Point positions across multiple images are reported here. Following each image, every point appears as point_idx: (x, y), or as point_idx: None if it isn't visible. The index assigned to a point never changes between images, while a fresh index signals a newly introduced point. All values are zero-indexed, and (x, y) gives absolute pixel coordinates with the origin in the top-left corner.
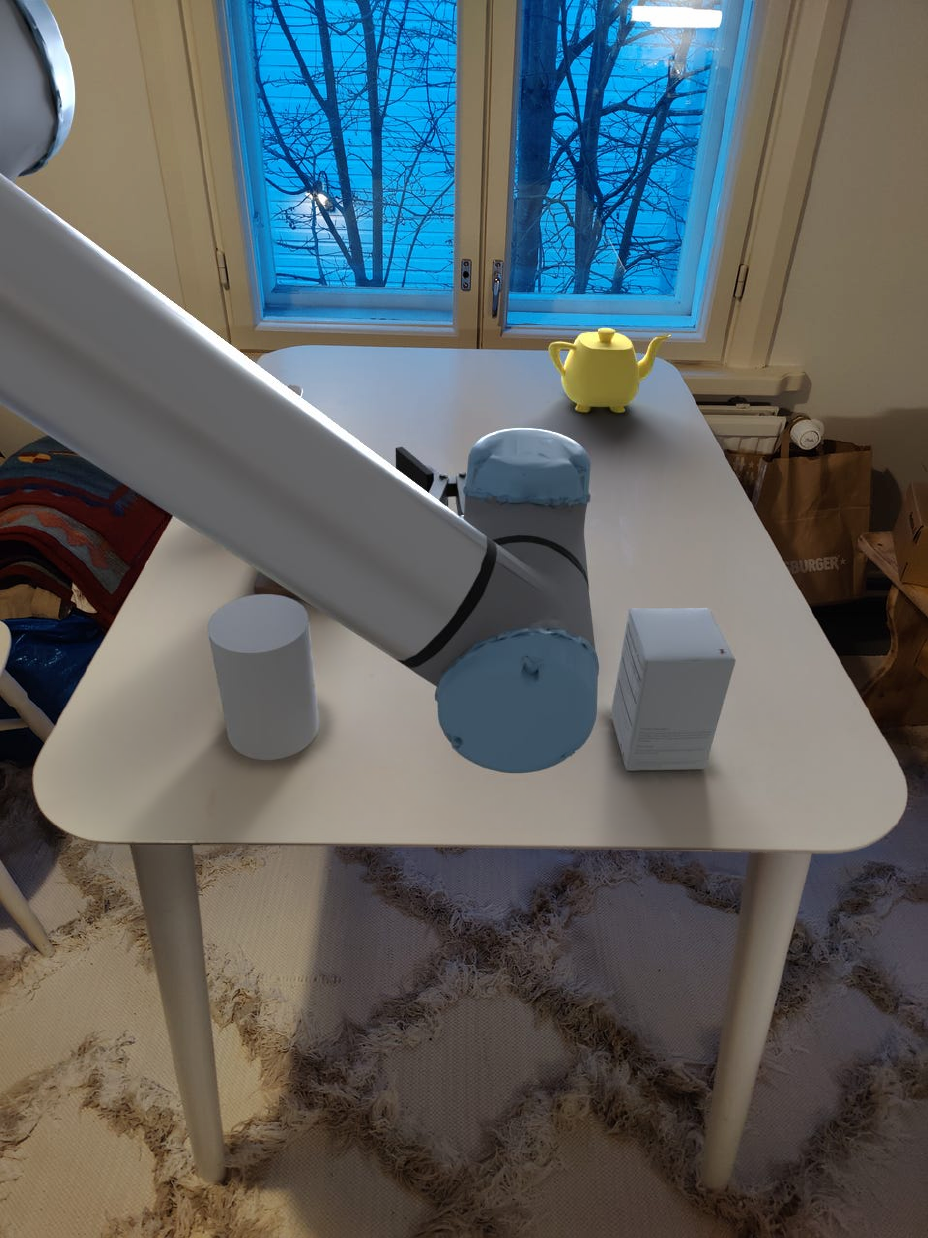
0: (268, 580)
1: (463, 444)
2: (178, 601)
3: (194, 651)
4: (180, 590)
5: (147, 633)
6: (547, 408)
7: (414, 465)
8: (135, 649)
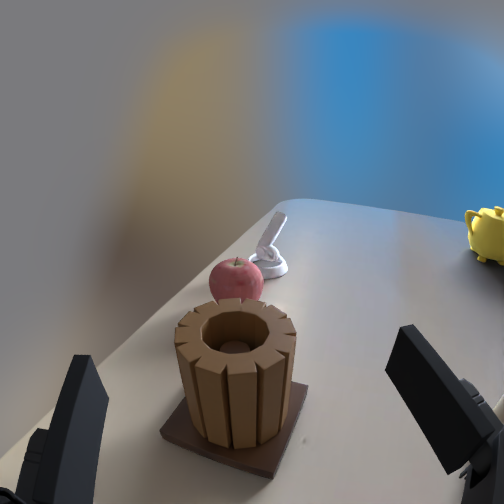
0: (178, 425)
1: (409, 277)
2: None
3: None
4: None
5: None
6: (460, 256)
7: (446, 392)
8: None
